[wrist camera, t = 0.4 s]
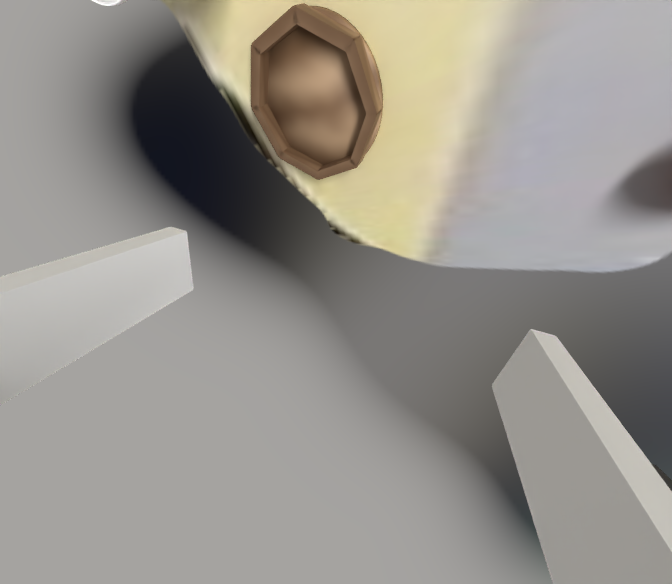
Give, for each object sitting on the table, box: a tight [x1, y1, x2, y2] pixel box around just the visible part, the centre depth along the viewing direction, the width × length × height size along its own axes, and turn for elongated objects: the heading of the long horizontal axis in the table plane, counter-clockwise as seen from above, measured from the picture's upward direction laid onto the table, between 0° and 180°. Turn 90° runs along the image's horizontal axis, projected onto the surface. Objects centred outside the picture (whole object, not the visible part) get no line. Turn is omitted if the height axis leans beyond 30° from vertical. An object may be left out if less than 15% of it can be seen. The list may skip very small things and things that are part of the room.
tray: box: [251, 4, 383, 180], centre depth 33 cm, size 17×17×3 cm
